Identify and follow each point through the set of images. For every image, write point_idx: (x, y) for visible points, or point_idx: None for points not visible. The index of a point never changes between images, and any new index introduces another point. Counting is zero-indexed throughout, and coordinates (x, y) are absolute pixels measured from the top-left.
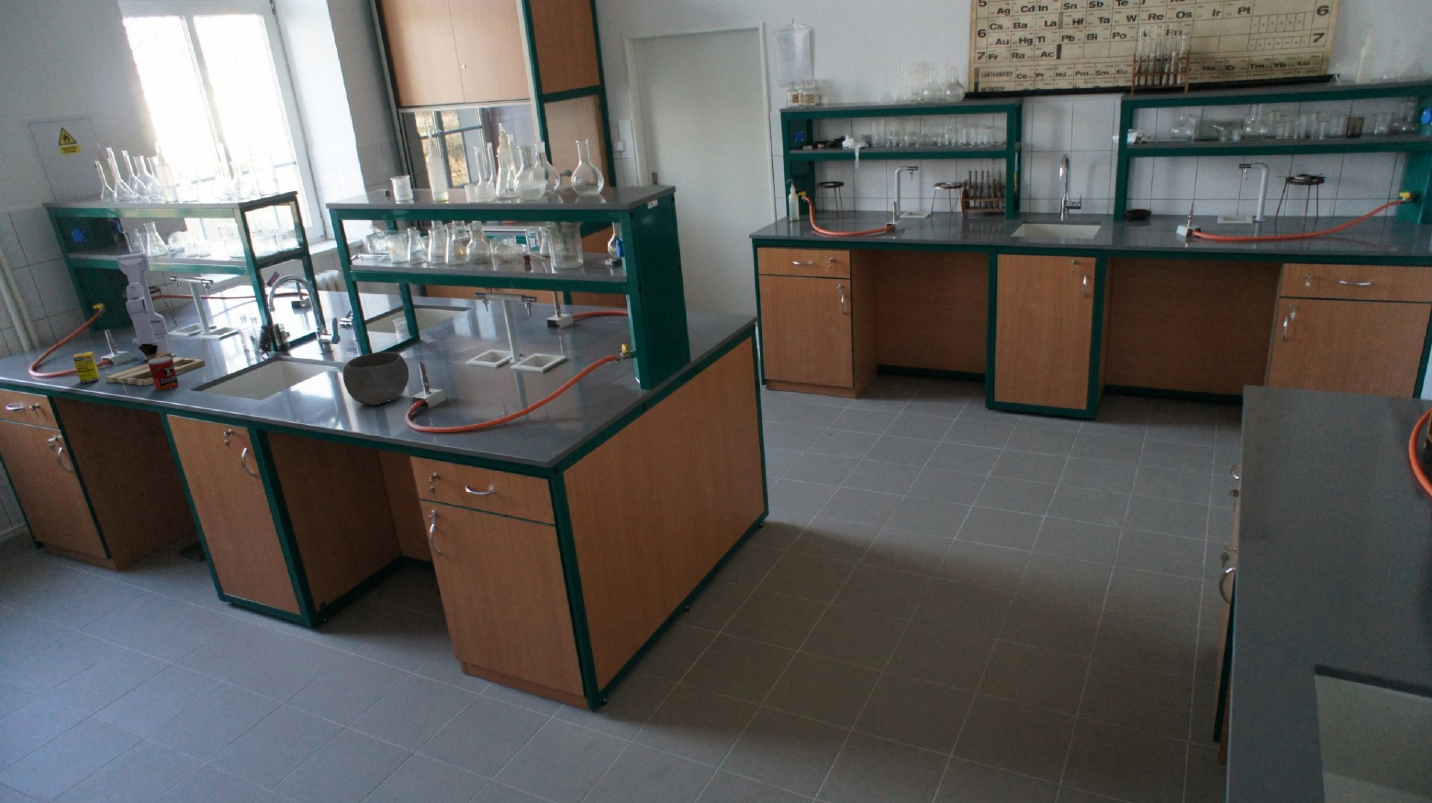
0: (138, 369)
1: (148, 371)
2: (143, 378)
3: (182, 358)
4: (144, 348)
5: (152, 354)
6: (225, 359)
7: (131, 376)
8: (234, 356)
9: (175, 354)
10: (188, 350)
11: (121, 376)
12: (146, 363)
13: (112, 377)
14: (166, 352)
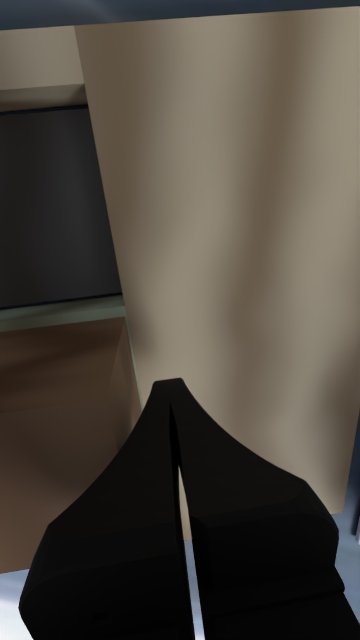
0: (277, 298)
1: (124, 297)
2: (97, 220)
3: (187, 533)
4: (98, 529)
5: (105, 467)
6: (15, 603)
7: (127, 125)
8: (25, 631)
9: (357, 541)
10: (354, 581)
11: (244, 82)
12: (346, 402)
13: (321, 11)
14: (15, 563)
